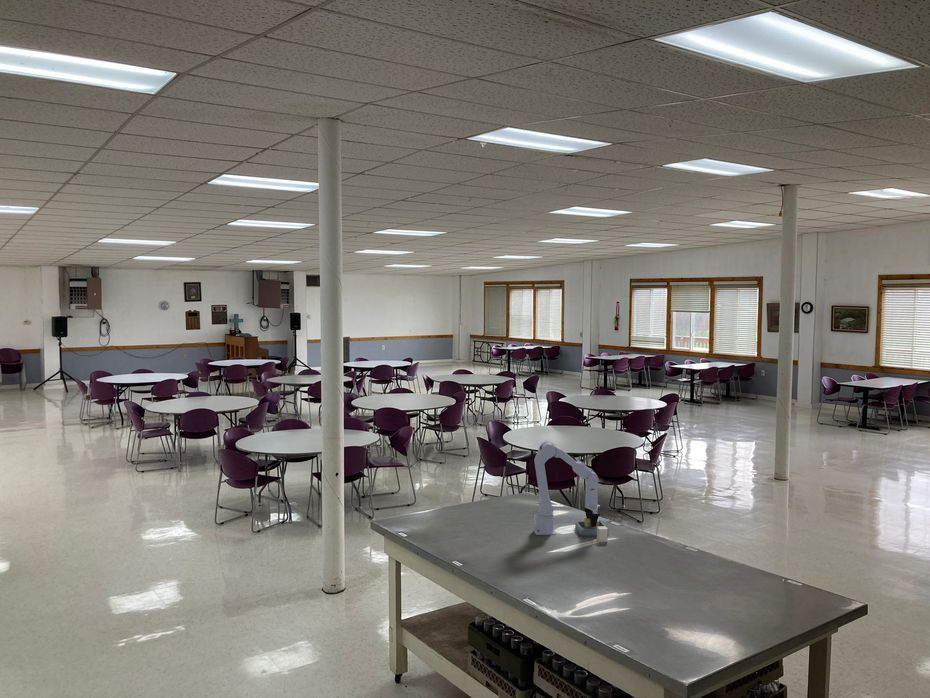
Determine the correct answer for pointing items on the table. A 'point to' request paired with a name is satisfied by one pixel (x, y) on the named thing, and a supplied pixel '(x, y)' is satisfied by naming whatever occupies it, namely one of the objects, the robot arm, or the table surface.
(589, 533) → the tote
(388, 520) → the table surface
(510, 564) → the table surface
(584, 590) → the table surface
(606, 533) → the cream carton
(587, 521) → the oak block
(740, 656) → the table surface
